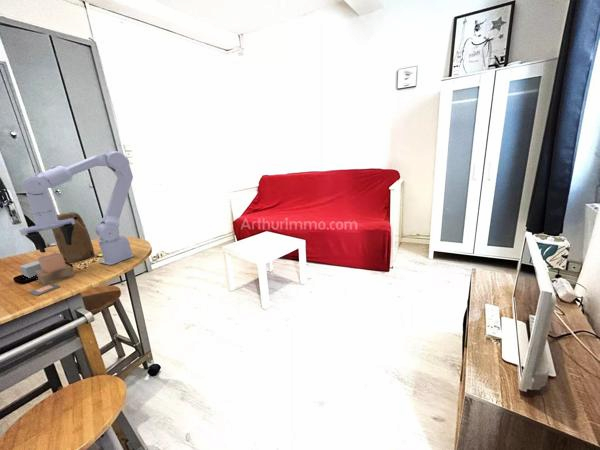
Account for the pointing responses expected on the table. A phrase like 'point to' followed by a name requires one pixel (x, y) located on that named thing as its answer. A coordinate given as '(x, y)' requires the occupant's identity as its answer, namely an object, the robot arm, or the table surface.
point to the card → (44, 289)
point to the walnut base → (55, 275)
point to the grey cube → (30, 269)
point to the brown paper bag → (74, 239)
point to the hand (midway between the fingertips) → (56, 248)
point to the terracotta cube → (52, 262)
